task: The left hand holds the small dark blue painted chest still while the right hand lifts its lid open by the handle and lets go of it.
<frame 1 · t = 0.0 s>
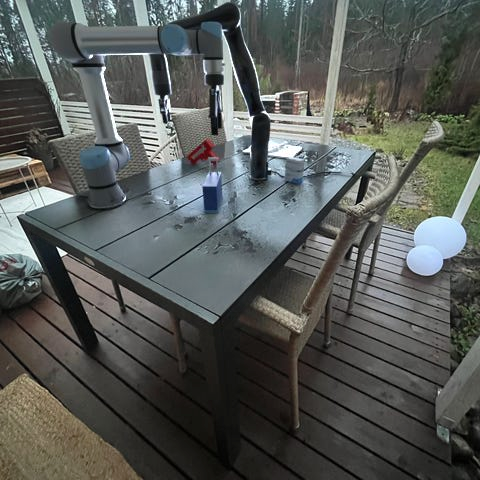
left hand: (217, 131, 116), 28 cm above the table, tool pointing down, fingers open, 13 cm apart
right hand: (167, 121, 130), 29 cm above the table, tool pointing down, fingers open, 8 cm apart
chest: (213, 204, 120), on the table
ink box: (293, 181, 143), on the table
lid: (211, 171, 112), point 15 cm above the table, hinge at 0.0°
relief map: (273, 151, 194), on the table
toy gun: (203, 164, 169), on the table
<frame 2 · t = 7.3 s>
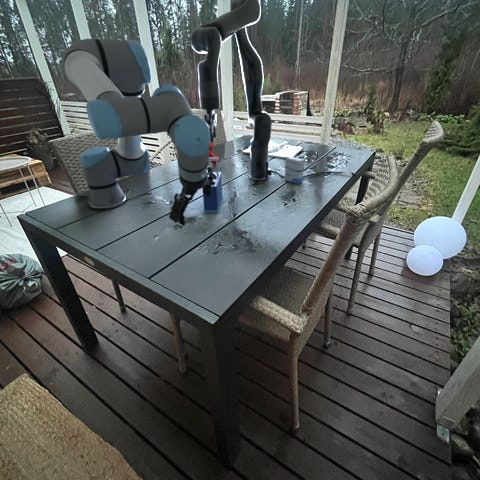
left hand: (194, 208, 90), 12 cm above the table, tool tilted 35°, fingers open, 13 cm apart
right hand: (212, 139, 110), 26 cm above the table, tool pointing down, fingers open, 8 cm apart
nothing on the table moved.
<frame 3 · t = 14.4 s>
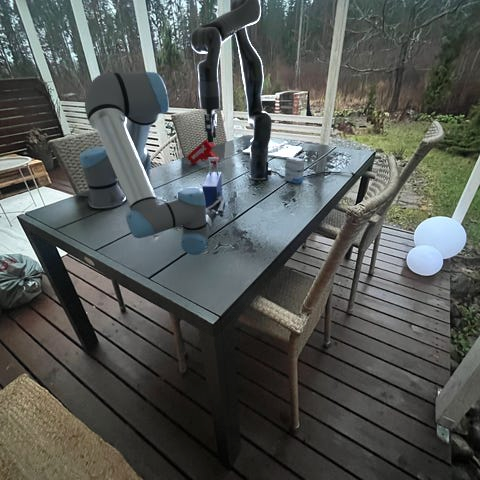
left hand: (211, 195, 113), 7 cm above the table, tool horizontal, fingers closed on chest, 6 cm apart
right hand: (212, 139, 110), 26 cm above the table, tool pointing down, fingers open, 8 cm apart
chest: (213, 204, 120), on the table, touching left hand
everything else where it was.
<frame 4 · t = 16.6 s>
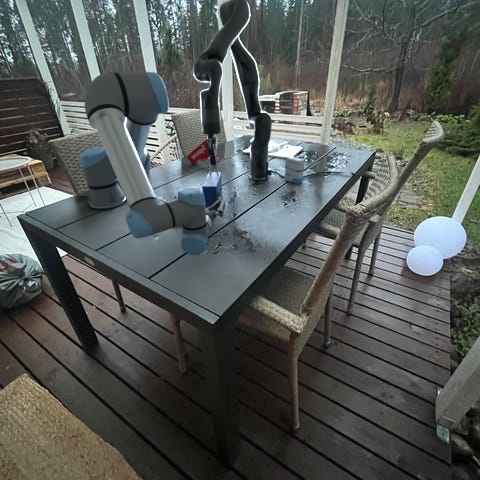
left hand: (211, 195, 113), 6 cm above the table, tool horizontal, fingers closed on chest, 6 cm apart
right hand: (213, 163, 116), 16 cm above the table, tool pointing down, fingers closed
chest: (213, 204, 120), on the table, touching left hand
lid: (211, 171, 112), point 15 cm above the table, hinge at -0.1°, touching right hand
everything else where it was.
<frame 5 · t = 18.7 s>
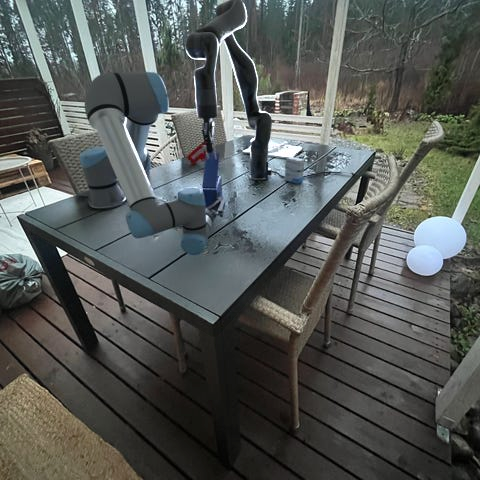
left hand: (211, 195, 113), 7 cm above the table, tool horizontal, fingers closed on chest, 6 cm apart
right hand: (210, 151, 106), 23 cm above the table, tool pointing down, fingers closed
chest: (213, 204, 120), on the table, touching left hand
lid: (209, 164, 107), point 19 cm above the table, hinge at 34.7°, touching right hand
everything else where it was.
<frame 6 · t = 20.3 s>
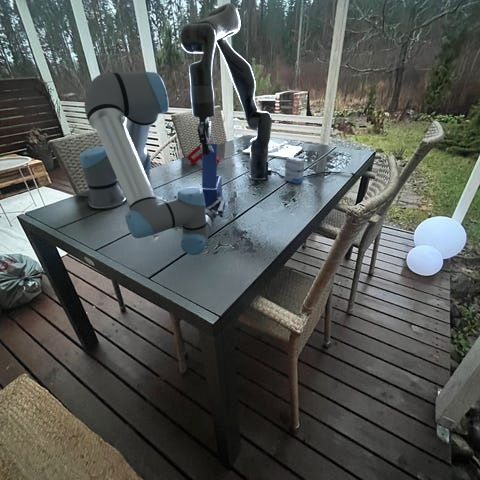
left hand: (211, 195, 113), 6 cm above the table, tool horizontal, fingers closed on chest, 6 cm apart
right hand: (206, 153, 99), 25 cm above the table, tool pointing down, fingers closed
chest: (213, 204, 120), on the table, touching left hand
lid: (207, 164, 102), point 20 cm above the table, hinge at 63.5°
everything else where it was.
when the left hand's fingers open (6 cm above the table, at t = 24.7 s): chest stays where it is, on the table.
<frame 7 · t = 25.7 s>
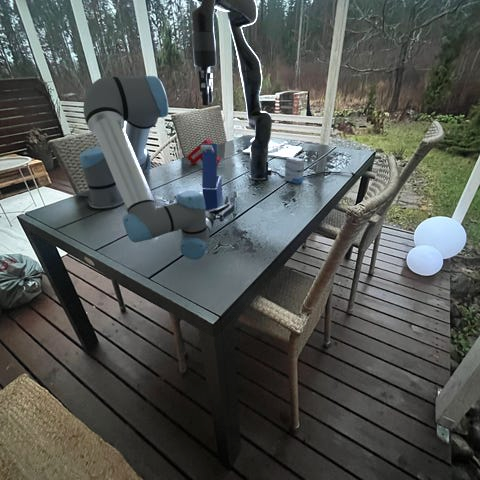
left hand: (210, 199, 109), 7 cm above the table, tool horizontal, fingers open, 13 cm apart
right hand: (207, 103, 99), 40 cm above the table, tool pointing down, fingers open, 8 cm apart
chest: (213, 204, 120), on the table
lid: (208, 164, 103), point 20 cm above the table, hinge at 61.9°
everything else where it was.
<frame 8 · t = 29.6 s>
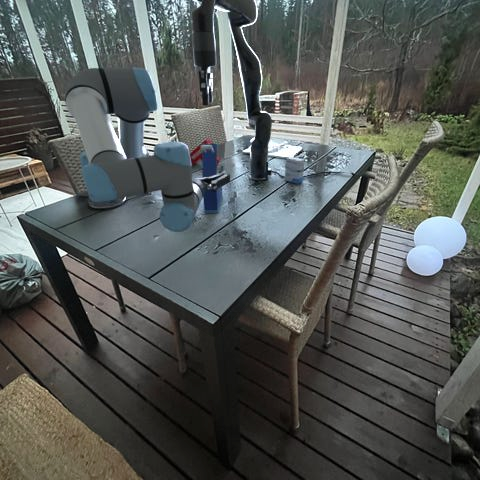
left hand: (202, 169, 92), 22 cm above the table, tool horizontal, fingers open, 13 cm apart
right hand: (207, 103, 99), 40 cm above the table, tool pointing down, fingers open, 8 cm apart
nothing on the table moved.
at the end: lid at +62° (first picture: +0°); the left hand is holding nothing; the right hand is holding nothing; chest tilted 0°; chest never tilted more than 1° during the clip; chest moved 0.0 cm from its start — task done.
